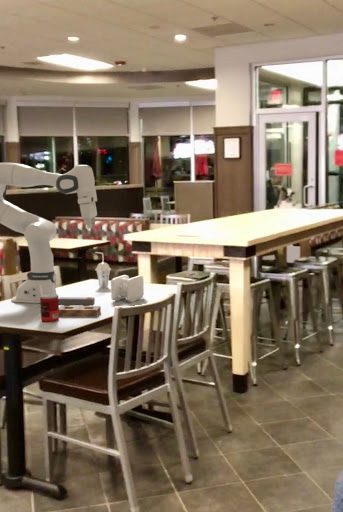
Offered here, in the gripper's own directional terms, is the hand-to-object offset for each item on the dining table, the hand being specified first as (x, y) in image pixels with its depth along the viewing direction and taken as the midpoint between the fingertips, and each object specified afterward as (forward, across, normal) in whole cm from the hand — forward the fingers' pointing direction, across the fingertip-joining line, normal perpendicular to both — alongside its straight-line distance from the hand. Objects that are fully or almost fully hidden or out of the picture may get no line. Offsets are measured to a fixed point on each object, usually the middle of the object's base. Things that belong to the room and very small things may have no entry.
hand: (91, 227), depth 329 cm
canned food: (+35, +41, -15) cm, 56 cm away
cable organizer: (+38, -4, +12) cm, 40 cm away
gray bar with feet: (+36, +20, -8) cm, 41 cm away
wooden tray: (+36, +29, -5) cm, 46 cm away
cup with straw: (+36, -37, -6) cm, 52 cm away
